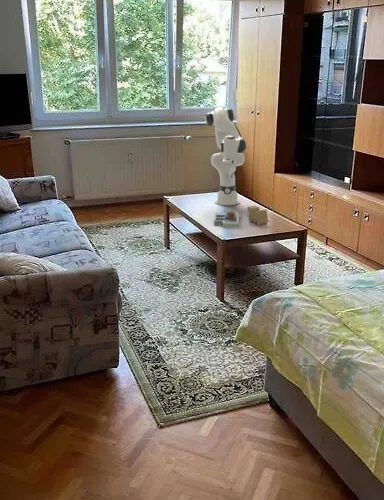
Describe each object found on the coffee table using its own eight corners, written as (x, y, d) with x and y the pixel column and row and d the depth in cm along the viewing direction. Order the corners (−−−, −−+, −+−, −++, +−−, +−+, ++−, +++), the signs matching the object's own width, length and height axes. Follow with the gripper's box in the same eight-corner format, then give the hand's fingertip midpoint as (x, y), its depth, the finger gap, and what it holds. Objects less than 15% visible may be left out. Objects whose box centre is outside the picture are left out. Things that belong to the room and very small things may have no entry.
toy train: (261, 226, 343) (262, 212, 340) (247, 220, 357) (247, 206, 354) (268, 225, 345) (269, 211, 342) (253, 219, 360) (254, 205, 356)
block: (227, 217, 365) (227, 210, 363) (234, 217, 364) (234, 210, 363) (227, 219, 360) (227, 212, 358) (234, 219, 360) (234, 212, 358)
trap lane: (215, 216, 367) (215, 212, 366) (238, 216, 365) (238, 212, 364) (213, 227, 343) (213, 223, 342) (238, 227, 342) (238, 223, 341)
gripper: (229, 157, 367) (229, 176, 371) (221, 162, 348) (221, 182, 353) (238, 157, 365) (238, 177, 369) (230, 162, 346) (230, 182, 351)
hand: (230, 179), depth 361 cm, fingers open, 8 cm apart
